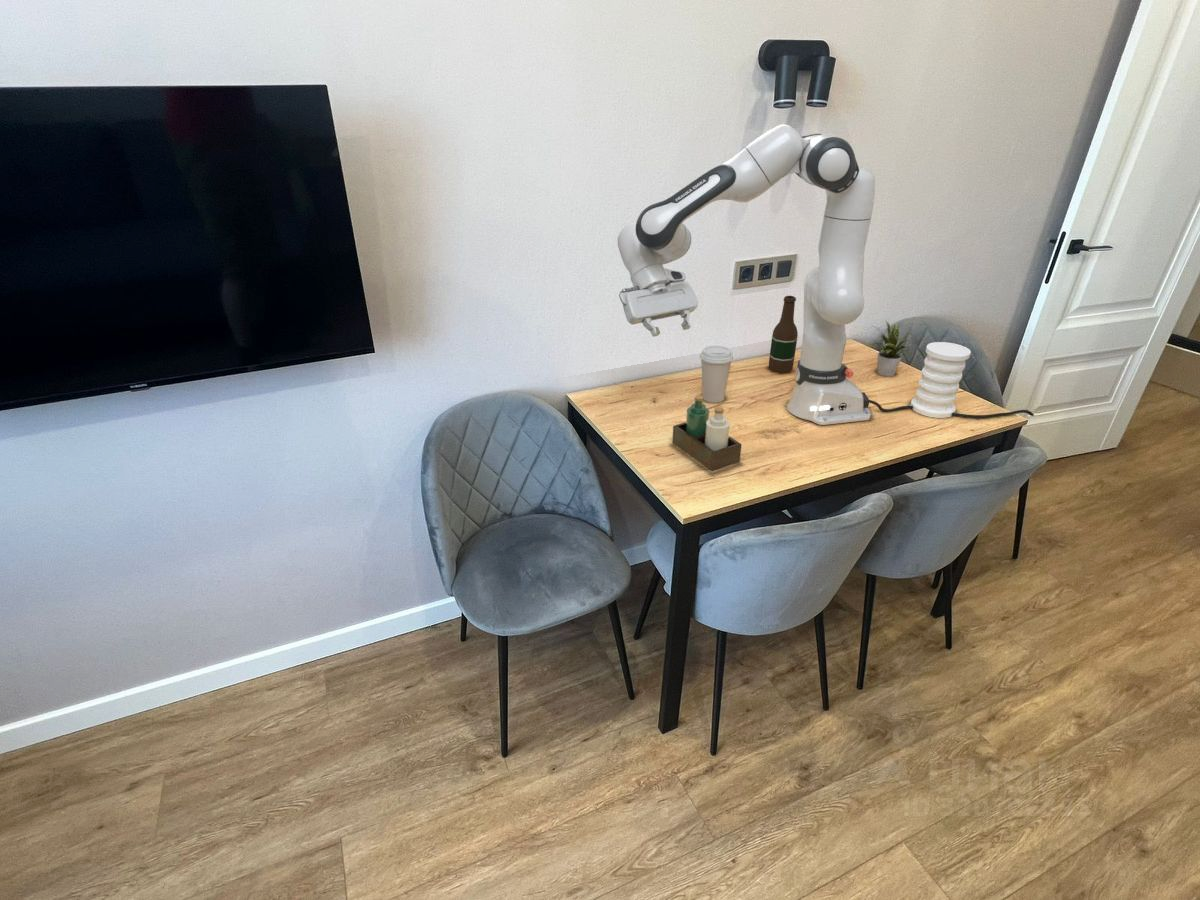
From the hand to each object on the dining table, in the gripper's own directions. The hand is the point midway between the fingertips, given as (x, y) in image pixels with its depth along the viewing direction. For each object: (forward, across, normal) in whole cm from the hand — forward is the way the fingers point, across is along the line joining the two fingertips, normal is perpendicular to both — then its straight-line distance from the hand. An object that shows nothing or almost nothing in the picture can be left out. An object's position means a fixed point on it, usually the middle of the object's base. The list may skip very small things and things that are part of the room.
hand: (672, 331), depth 161 cm
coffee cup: (+13, +23, +26) cm, 37 cm away
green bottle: (+28, 0, +10) cm, 29 cm away
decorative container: (+40, +71, -2) cm, 82 cm away
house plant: (+22, +81, +16) cm, 86 cm away
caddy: (+31, 0, +8) cm, 32 cm away
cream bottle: (+33, 0, +5) cm, 34 cm away
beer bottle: (+9, +55, +30) cm, 63 cm away
